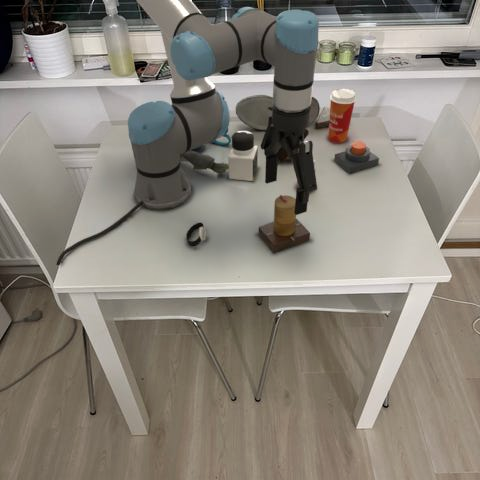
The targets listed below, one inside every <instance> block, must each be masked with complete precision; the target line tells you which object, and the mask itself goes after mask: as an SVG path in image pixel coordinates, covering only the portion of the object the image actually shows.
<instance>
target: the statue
mask: <svg viewBox="0 0 480 480" xmlns="http://www.w3.org/2000/svg"><path fill="white" fill-rule="evenodd" d="M180 158H182V159H184V160H185V161H187V162H188V163H190V164H191V166H193V168H192V170H195V171H202V170H205V171H207V170H211V171H213V173H216V174H220V175H223V174H224V173H226V172H227V171H229V165H228V163H224V162H216V161H215V160H216V159H215V158H214V157H213V156H211V155H208V154H202V153H200V152H197V151H194V150H190V151H187V152H184V153H182V154H180Z"/></svg>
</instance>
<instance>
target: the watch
mask: <svg viewBox="0 0 480 480" xmlns="http://www.w3.org/2000/svg"><path fill="white" fill-rule="evenodd" d="M196 230H199V231H198V233H199V234H198V237H197V238H196V239H195V240H190V239H191V237H192V234H193V233H194V232H195V231H196ZM185 235H186V236H185V239H186V241H187V243H188V245H189V246H190V247H197V246H199V245H200V244H201V243H202V241H206V239H207V233H206V229H205V226H204V222H196V223H194V224H193V225H191V226H190V227H189V229H188V230H187V232H186V234H185Z"/></svg>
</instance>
